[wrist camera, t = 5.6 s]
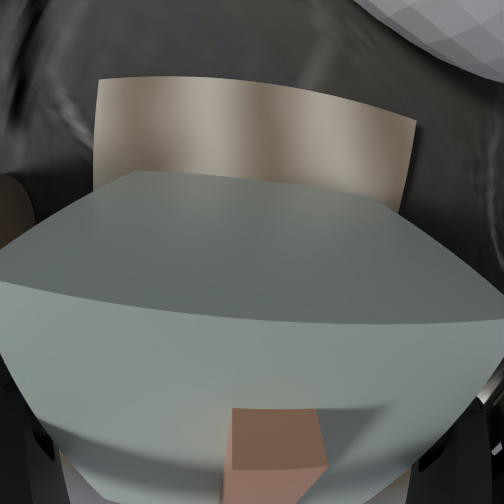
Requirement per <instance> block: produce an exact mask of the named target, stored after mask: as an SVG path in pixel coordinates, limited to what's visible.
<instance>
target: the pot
mask: <svg viewBox="0 0 504 504" xmlns="http://www.w3.org/2000/svg"><path fill="white" fill-rule="evenodd" d="M354 1H355V2H356V3H358V4H359V5H360V6H361V7H363V8H364V9H365V10H366V11H368V12H369V13H370V14H371V15H373V16H374V17H375V18H376V19H377V20H379V21H381V22H382V23H384V24H385V25H387V26H388V27H390V28H391V29H393V30H394V31H395V32H397V33H398V34H400V35H401V36H403V37H404V38H405V39H407V40H408V41H409V42H411V43H413V44H415V45H416V46H418V47H420V48H422V49H423V50H425V51H427V52H429V53H430V54H432V55H434V56H435V57H437V58H438V59H440V60H443V61H445V62H447V63H450V64H452V65H454V66H457V67H459V68H461V69H463V70H465V71H468V72H471V73H473V74H476V75H479V76H481V77H484V78H486V79H490V80H494V81H498V82H502V83H504V0H354Z"/></svg>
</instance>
